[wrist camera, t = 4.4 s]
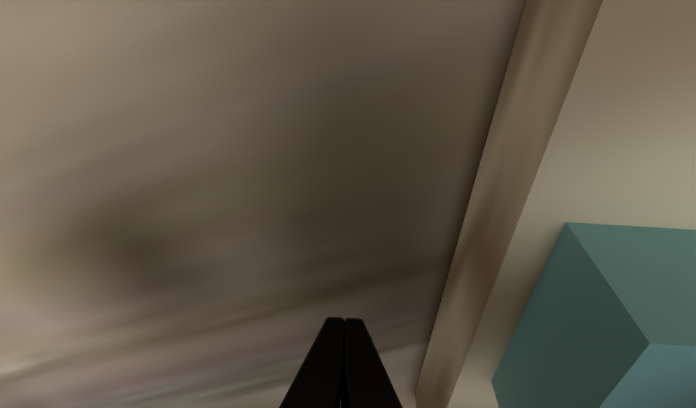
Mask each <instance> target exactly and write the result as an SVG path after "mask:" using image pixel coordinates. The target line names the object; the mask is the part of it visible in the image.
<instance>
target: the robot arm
mask: <svg viewBox="0 0 696 408" xmlns="http://www.w3.org/2000/svg"><path fill="white" fill-rule="evenodd" d="M340 399H341V404H340ZM279 408H402V405H401V403H400V401H399V399H398V397H397V394H396V392H395V390H394V388H393V386H392V383H391V381H390V379H389V377H388V375H387V372H386V370H385V368H384V366H383V363H382V361H381V359H380V357H379V355H378V352H377V350H376V348H375V346H374V344H373V341H372V339H371V337H370V335H369V333H368V330H367V328H366V326H365V324H364V322H363V320H362V319H360V318H346V319H345V322H344V319H343V318H341V317H328V318H327V319H326V320H325V322H324V324H323V326H322V328H321V329H320V331H319V333H318V335H317V337H316V339H315V341H314V343H313V345H312V347H311V348H310V350H309V352H308V354H307V356H306V358H305V360H304V362H303V364H302V365H301V367H300V369H299V371H298V373H297V375H296V377H295V379H294V381H293V382H292V384H291V386H290V388H289V390H288V392H287V394H286V396H285V398H284V399H283V401H282V403H281V405H280V407H279Z"/></svg>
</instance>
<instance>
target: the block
mask: <svg viewBox="0 0 696 408" xmlns="http://www.w3.org/2000/svg"><path fill="white" fill-rule="evenodd" d="M491 382H492V386H493V389H494V393H495V396H496V399H497V403H498V406H499V408H696V230H691V229H674V228H658V227H641V226H624V225H607V224H590V223H574V222H566V223H565V225H564V227H563V229H562V231H561V234H560V236H559V238H558V240H557V242H556V244H555V246H554V248H553V251H552V253H551V255H550V257H549V259H548V261H547V263H546V265H545V268H544V270H543V272H542V274H541V276H540V278H539V280H538V283H537V285H536V287H535V289H534V291H533V293H532V295H531V297H530V300H529V302H528V304H527V306H526V308H525V310H524V312H523V314H522V317H521V319H520V321H519V323H518V325H517V327H516V329H515V332H514V334H513V336H512V338H511V340H510V342H509V344H508V346H507V349H506V351H505V353H504V355H503V357H502V359H501V361H500V363H499V366H498V368H497V370H496V372H495V374H494V376H493V378H492V381H491Z"/></svg>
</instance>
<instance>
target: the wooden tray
mask: <svg viewBox="0 0 696 408" xmlns="http://www.w3.org/2000/svg"><path fill="white" fill-rule="evenodd" d="M566 222H574V223H590V224H607V225H624V226H641V227H658V228H674V229H691V230H696V0H526V3H525V6H524V10H523V13H522V17H521V20H520V24H519V27H518V31H517V34H516V38H515V42H514V45H513V49H512V52H511V56H510V59H509V63H508V66H507V70H506V73H505V77H504V80H503V84H502V87H501V91H500V94H499V98H498V101H497V105H496V109H495V112H494V116H493V119H492V123H491V126H490V130H489V133H488V137H487V140H486V144H485V147H484V151H483V154H482V158H481V161H480V165H479V168H478V172H477V176H476V179H475V183H474V186H473V190H472V193H471V197H470V200H469V204H468V207H467V211H466V214H465V218H464V221H463V225H462V228H461V232H460V235H459V239H458V242H457V246H456V250H455V253H454V257H453V260H452V264H451V267H450V271H449V274H448V278H447V281H446V285H445V288H444V292H443V295H442V299H441V302H440V306H439V309H438V313H437V317H436V320H435V324H434V327H433V331H432V334H431V338H430V341H429V345H428V348H427V352H426V355H425V359H424V362H423V366H422V369H421V373H420V376H419V380H418V383H417V387H416V391H415V398H416V406H417V408H499V406H498V403H497V399H496V396H495V393H494V389H493V386H492V382H491V381H492V378H493V376H494V374H495V372H496V370H497V368H498V366H499V363H500V361H501V359H502V357H503V355H504V353H505V351H506V349H507V346H508V344H509V342H510V340H511V338H512V336H513V334H514V332H515V329H516V327H517V325H518V323H519V321H520V319H521V317H522V314H523V312H524V310H525V308H526V306H527V304H528V302H529V300H530V297H531V295H532V293H533V291H534V289H535V287H536V285H537V283H538V280H539V278H540V276H541V274H542V272H543V270H544V268H545V265H546V263H547V261H548V259H549V257H550V255H551V253H552V251H553V248H554V246H555V244H556V242H557V240H558V238H559V236H560V234H561V231H562V229H563V227H564V225H565V223H566Z"/></svg>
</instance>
